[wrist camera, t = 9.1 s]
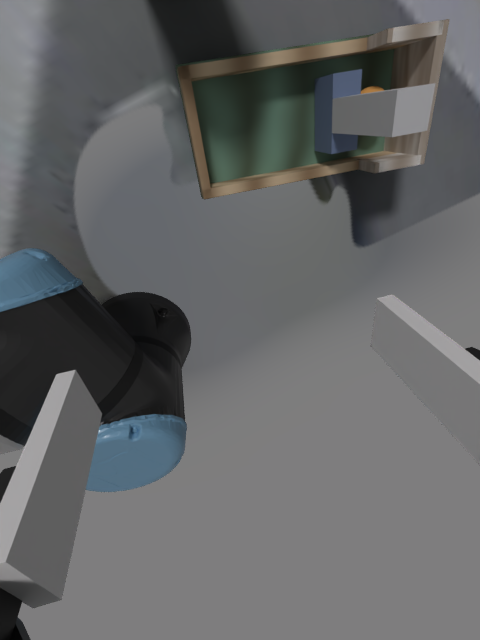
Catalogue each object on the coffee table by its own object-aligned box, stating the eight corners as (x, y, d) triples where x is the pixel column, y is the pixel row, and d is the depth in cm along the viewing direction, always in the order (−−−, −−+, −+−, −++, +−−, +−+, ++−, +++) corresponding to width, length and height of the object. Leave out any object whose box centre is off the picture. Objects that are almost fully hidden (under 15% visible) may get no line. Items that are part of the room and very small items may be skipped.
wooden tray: (201, 196, 40) (208, 211, 33) (175, 67, 32) (177, 52, 26) (382, 161, 42) (423, 168, 35) (396, 32, 34) (450, 11, 28)
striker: (314, 150, 38) (388, 165, 25) (314, 79, 34) (401, 53, 21) (337, 146, 38) (422, 158, 25) (340, 74, 34) (441, 47, 21)
